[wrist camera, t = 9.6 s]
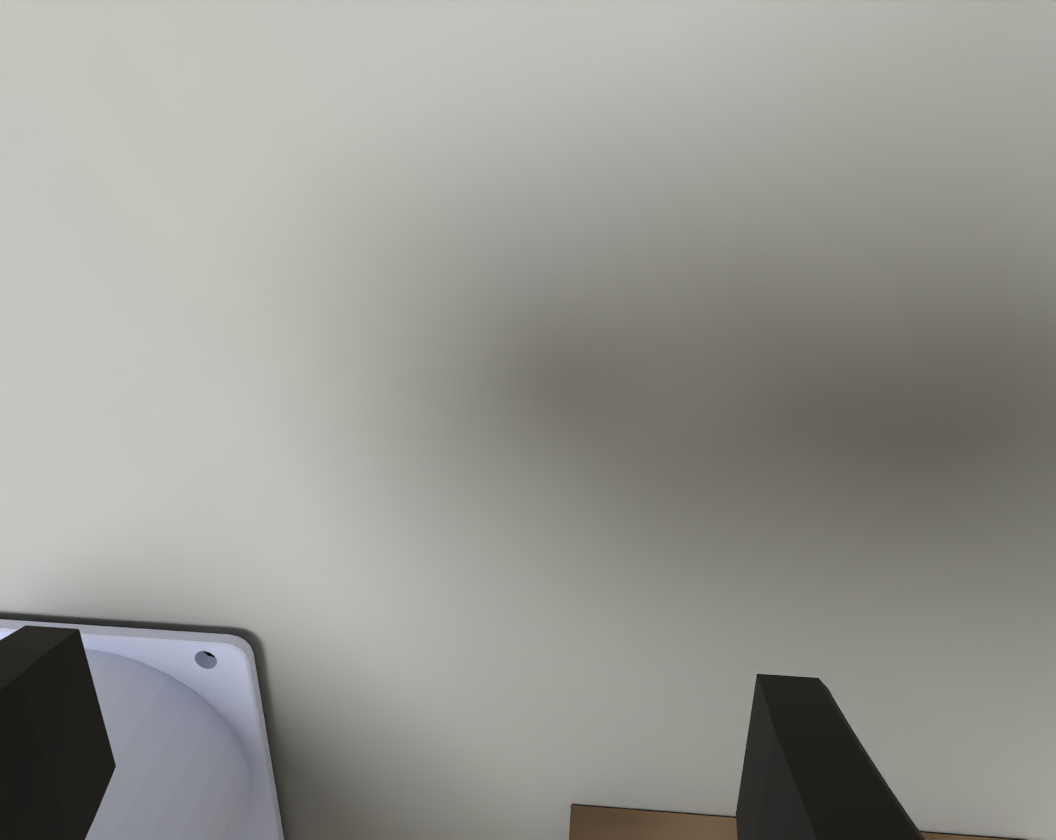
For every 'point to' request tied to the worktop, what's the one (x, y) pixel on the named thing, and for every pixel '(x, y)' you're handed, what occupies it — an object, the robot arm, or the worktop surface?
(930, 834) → the gear board
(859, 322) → the worktop surface
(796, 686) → the robot arm
